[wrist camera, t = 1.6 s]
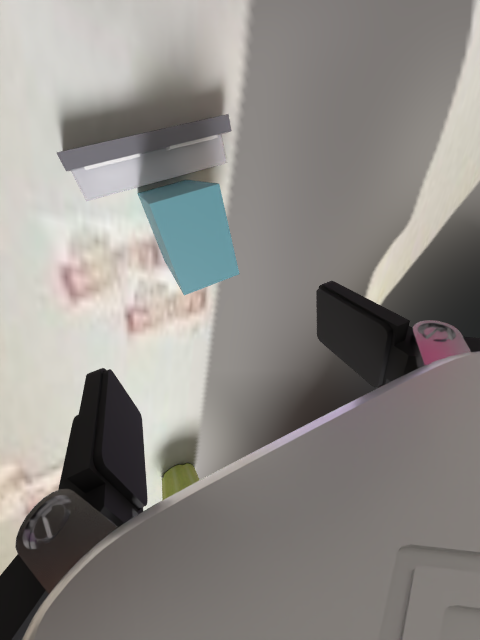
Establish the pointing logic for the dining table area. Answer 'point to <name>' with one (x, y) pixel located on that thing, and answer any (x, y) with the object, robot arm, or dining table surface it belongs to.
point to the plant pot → (178, 479)
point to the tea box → (191, 232)
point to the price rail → (147, 157)
